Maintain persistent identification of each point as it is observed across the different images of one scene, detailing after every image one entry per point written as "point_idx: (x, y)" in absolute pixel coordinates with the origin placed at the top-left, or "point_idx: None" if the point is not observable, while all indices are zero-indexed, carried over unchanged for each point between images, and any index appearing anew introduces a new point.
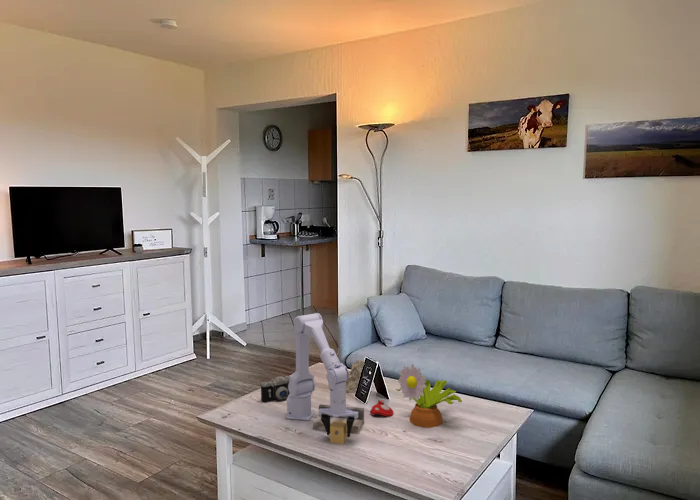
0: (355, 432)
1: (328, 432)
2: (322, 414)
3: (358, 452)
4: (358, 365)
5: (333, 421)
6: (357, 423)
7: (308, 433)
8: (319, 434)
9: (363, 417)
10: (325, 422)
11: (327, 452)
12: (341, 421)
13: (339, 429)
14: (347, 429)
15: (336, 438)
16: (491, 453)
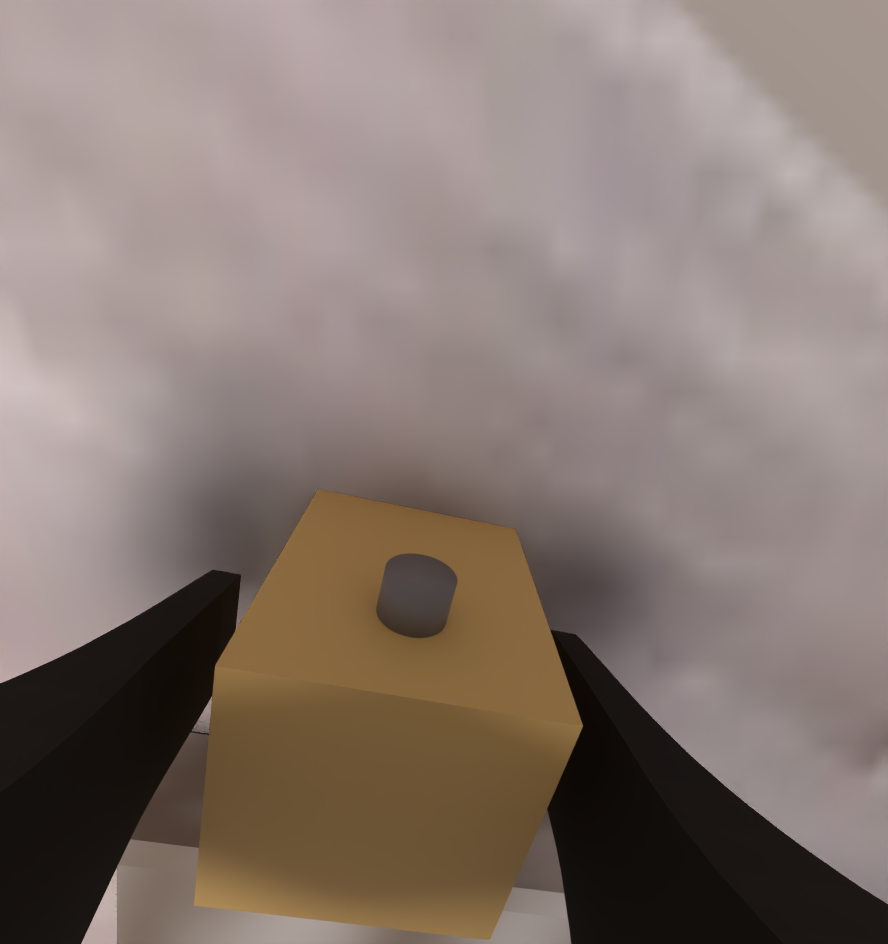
0: (188, 749)
1: (570, 659)
2: None
3: (9, 187)
4: None
5: (496, 921)
6: (166, 909)
7: (783, 736)
8: None
9: None
10: (747, 857)
11: (562, 195)
12: (385, 942)
13: (337, 647)
14: (143, 657)
15: (422, 545)
16: None
